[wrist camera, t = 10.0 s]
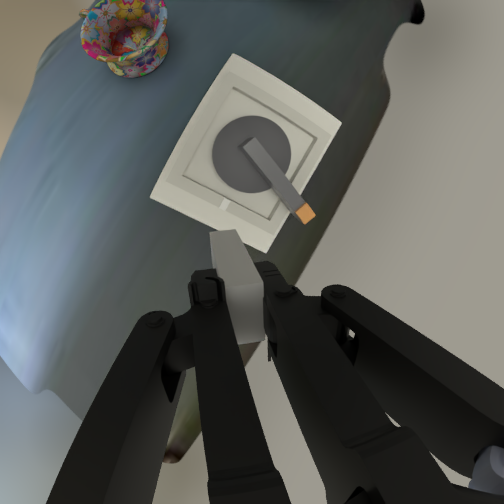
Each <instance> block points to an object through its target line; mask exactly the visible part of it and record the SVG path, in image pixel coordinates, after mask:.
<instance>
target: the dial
mask: <svg viewBox="0 0 504 504" xmlns="http://www.w3.org/2000/svg"><path fill="white" fill-rule="evenodd" d="M212 161H213V165H214V168H215V170H216V172H217V174H218V175H219V177H220V178H221V179H222V180H223V181H224V182H225V183H226V184H227V185H228V186H230V187H231V188H233V189H235V190H237V191H240V192H244V193H260V192H263V191H266V190H269V189H270V188H272V189H273V191H274V192H275V193H276V194H277V196H278V197H279V198H280V200H281V201H282V202H283V203H284V205H285V206H286V207H287V208H288V210H289V211H290V212H291V214H292V215H293V216H294V217H295V218H296V219H298V220H299V221H301V222H302V223H303V224H306V223H307V222H308V221H310V220H311V219H312V218H313V217H314V216H315V214H314V212H313V211H312V209H311V208H310V207H309V205H308V204H307V203H306V202H305V201H304V200H303V198H302V197H301V196H300V194H299V193H298V192H297V190H296V189H295V188H294V186H293V185H292V184H291V182H290V181H289V180H288V178H287V177H286V176H285V174H286V173H287V171H288V168H289V165H290V161H291V147H290V143H289V140H288V138H287V136H286V134H285V132H284V131H283V130H282V129H281V127H280V126H278V125H277V124H276V123H275V122H273V121H272V120H270V119H268V118H265V117H261V116H254V115H251V116H243V117H240V118H237V119H235V120H233V121H231V122H229V123H228V124H227V125H225V126H224V127H223V128H222V129H221V131H220V132H219V133H218V135H217V136H216V138H215V141H214V144H213V148H212Z"/></svg>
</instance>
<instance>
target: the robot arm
mask: <svg viewBox="0 0 504 504" xmlns="http://www.w3.org/2000/svg"><path fill="white" fill-rule="evenodd" d="M209 233H210V244H211V253H212V263H213V269H206V270H198V271H195V272H194V273H193V274H192V276H191V281H190V282H189V284H188V291H189V297H190V303H191V309H190V310H189V311H188V312H186V313H185V314H183V315H180V316H178V317H175V318H173V316H172V315H171V314H170V313H168V312H166V311H152V312H149V313H147V314H145V315H143V316H142V317H141V318H140V319H139V320H138V322H137V323H136V325H135V327H134V328H133V330H132V332H131V333H130V335H129V337H128V339H127V340H126V342H125V344H124V346H123V347H122V349H121V351H120V353H119V354H118V356H117V358H116V360H115V362H114V363H113V365H112V367H111V369H110V371H109V372H108V374H107V376H106V378H105V380H104V382H103V384H102V385H101V387H100V389H99V391H98V393H97V395H96V397H95V399H94V401H93V403H92V405H91V406H90V408H89V410H88V412H87V414H86V416H85V418H84V420H83V422H82V424H81V426H80V429H79V431H78V433H77V435H76V437H75V439H74V441H73V443H72V445H71V447H70V449H69V451H68V454H67V456H66V458H65V460H64V462H63V465H62V467H61V469H60V471H59V474H58V476H57V478H56V481H55V483H54V485H53V488H52V490H51V493H50V495H49V497H48V500H47V502H46V504H152V501H153V497H154V493H155V489H156V485H157V481H158V477H159V473H160V469H161V464H162V461H163V457H164V453H165V449H166V446H167V442H168V438H169V434H170V431H171V427H172V423H173V419H174V416H175V412H176V408H177V405H178V401H179V398H180V394H181V390H182V387H183V383H184V380H185V376H186V370H187V369H189V368H192V367H195V371H196V381H197V392H198V401H199V410H200V419H201V427H202V435H203V442H204V450H205V456H206V462H207V470H208V477H209V478H208V479H209V480H208V482H207V487H208V495H209V501H210V504H291V502H290V499H289V496H288V493H287V490H286V488H285V485H284V482H283V479H282V477H281V475H280V473H279V471H278V470H277V469H276V468H275V467H274V464H273V461H272V458H271V455H270V452H269V449H268V446H267V442H266V439H265V436H264V433H263V429H262V426H261V423H260V420H259V417H258V413H257V410H256V406H255V403H254V399H253V396H252V393H251V389H250V386H249V382H248V379H247V375H246V372H245V368H244V365H243V361H242V358H241V354H240V350H239V347H238V345H239V344H245V343H252V342H258V341H264V340H265V332H266V335H267V337H268V361H271V357H272V359H273V362H274V364H275V367H276V369H277V372H278V374H279V377H280V379H281V382H282V384H283V387H284V389H285V392H286V394H287V397H288V399H289V402H290V404H291V407H292V409H293V412H294V414H295V417H296V419H297V421H298V424H299V426H300V429H301V431H302V434H303V436H304V438H305V441H306V443H307V446H308V448H309V450H310V452H311V455H312V457H313V460H314V462H315V465H316V467H317V469H318V472H319V474H320V476H321V479H322V481H323V483H324V486H325V490H326V500H327V504H504V389H503V388H502V387H500V386H499V385H497V384H496V383H495V382H493V381H492V380H490V379H489V378H487V377H486V376H484V375H483V374H481V373H480V372H478V371H477V370H476V369H474V368H473V367H471V366H469V365H468V364H467V363H465V362H464V361H462V360H461V359H459V358H458V357H456V356H455V355H453V354H452V353H450V352H449V351H447V350H446V349H444V348H443V347H441V346H440V345H438V344H436V343H435V342H433V341H432V340H430V339H429V338H427V337H425V336H424V335H423V334H421V333H420V332H418V331H417V330H415V329H413V328H412V327H411V326H409V325H407V324H406V323H404V322H403V321H401V320H400V319H398V318H397V317H395V316H394V315H392V314H390V313H389V312H387V311H386V310H384V309H383V308H381V307H379V306H378V305H376V304H375V303H373V302H372V301H370V300H368V299H367V298H365V297H364V296H362V295H361V294H359V293H357V292H356V291H354V290H353V289H351V288H349V287H347V286H342V285H338V284H337V285H330V286H327V287H325V288H323V290H322V291H321V296H304V295H303V293H302V292H301V291H300V290H299V289H298V288H297V287H295V286H292V285H288V284H287V282H286V281H285V279H284V278H283V276H282V275H281V273H280V272H279V271H278V269H277V267H276V266H275V265H274V264H273V263H271V262H269V261H264V262H256V263H253V261H252V259H251V258H250V256H249V254H248V252H247V250H246V248H245V246H244V244H243V242H242V240H241V238H240V236H239V234H238V233H237V231H236V229H232V230H223V231H214V232H209ZM350 329H351V330H352V331H353V332H354V333H355V336H354V338H352V337H351V336H350V335H349V330H350ZM385 412H386V413H387V414H388V415H389V416H390V417H391V418H392V419H394V421H396V422H397V423H398V424H399V425H400V426H401V427H397V426H395V425H394V424H393V423H392V422H391V421H390V419H389V418H388V416H387V415H386V413H385ZM429 451H430V452H431V453H432V454H433V455H434V456H435V457H437V458H438V459H439V460H440V461H441V462H443V463H444V464H445V465H447V466H448V467H449V468H451V469H452V470H454V471H456V472H458V473H459V474H461V475H463V476H466V477H468V478H471V479H472V480H471V481H470V482H469V486H468V487H469V488H467V487H463V486H459V485H456V484H453V483H450V481H449V480H448V478H447V477H446V475H445V474H444V472H443V471H442V469H441V468H440V467H439V465H438V464H437V462H436V461H435V459H434V458H433V457H432V455H431V454H430V452H429Z"/></svg>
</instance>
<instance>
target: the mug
mask: <svg viewBox="0 0 504 504" xmlns="http://www.w3.org/2000/svg"><path fill="white" fill-rule="evenodd" d="M79 15H80V17H81V18H83V19H84V22H83V25H82V28H81V34H80V38H81V44H82V46H83V48H84V50H85V51H86V53H87V54H88V55H89V56H91V57H92V58H94V59H96V60H99V61H102V62H107V64H108V66H109V68H110V69H111V70H112V71H113V72H114V73H115V74H117V75H119V76H122V77H127V78H134V77H140V76H143V75H146V74H148V73H150V72H151V71H153V70H154V69H156V68H157V67H158V66H159V65H160V64H161V63H162V61H163V60H164V58H165V56H166V54H167V51H168V38H167V35H166V33H165V32H164V29H165V26H166V23H167V16H168V14H167V8H166V5H165V3H164V2H163V0H101V1H100V2H99V3H98V4H96V5H95V6H94V7H93V8H92V10H91V11H90V10H87V9H82V10H81V11H80V13H79Z"/></svg>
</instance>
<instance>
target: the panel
mask: <svg viewBox="0 0 504 504" xmlns="http://www.w3.org/2000/svg"><path fill="white" fill-rule="evenodd" d="M251 115H254V116H261V117H265V118H268V119H270V120H272V121H273V122H275V123H276V124H277V125H278V126H280V127H281V129H282V130H283V131H284V132H285V134H286V136H287V138H288V140H289V143H290V147H291V161H290V165H289V168H288V171H287V173H286V174H285V176H286V177H287V178H288V180H289V181H290V182H291V184H292V185H293V186H294V188H295V189H296V190H297V192H298V193H299V194H300V195H301V193H302V191H303V190H304V188H305V186H306V185H307V183H308V181H309V179H310V178H311V176H312V174H313V172H314V171H315V169H316V167H317V166H318V164H319V162H320V160H321V159H322V157H323V155H324V153H325V152H326V150H327V148H328V146H329V145H330V143H331V141H332V139H333V138H334V136H335V134H336V132H337V131H338V129H339V127H340V125H341V124H342V123H341V122H340V121H339V120H338V119H336V118H335V117H334V116H332V115H331V114H330V113H328V112H327V111H325V110H324V109H323V108H321V107H320V106H318V105H317V104H316V103H314V102H313V101H311V100H310V99H308V98H307V97H306V96H304V95H303V94H301V93H300V92H298V91H297V90H295V89H294V88H292V87H290V86H289V85H287V84H286V83H284V82H283V81H281V80H279V79H278V78H276V77H275V76H273V75H271V74H270V73H268V72H266V71H265V70H263V69H261V68H259V67H258V66H256V65H254V64H252V63H251V62H249V61H247V60H245V59H243V58H242V57H240V56H238V55H236V54H234V53H233V54H232V55H231V57H230V58H229V60H228V61H227V62H226V64H225V65H224V67H223V68H222V70H221V71H220V73H219V74H218V76H217V77H216V79H215V80H214V82H213V84H212V85H211V87H210V88H209V90H208V91H207V93H206V95H205V96H204V98H203V99H202V101H201V103H200V104H199V106H198V108H197V109H196V111H195V113H194V114H193V116H192V118H191V119H190V121H189V123H188V125H187V126H186V128H185V130H184V132H183V133H182V135H181V137H180V139H179V141H178V142H177V144H176V146H175V148H174V150H173V152H172V154H171V155H170V157H169V159H168V161H167V163H166V165H165V167H164V169H163V171H162V173H161V175H160V177H159V179H158V181H157V183H156V185H155V187H154V189H153V191H152V193H151V195H150V198H152V199H154V200H156V201H158V202H160V203H162V204H164V205H166V206H169V207H171V208H173V209H175V210H177V211H179V212H181V213H183V214H185V215H187V216H189V217H191V218H194V219H196V220H198V221H200V222H202V223H204V224H206V225H208V226H210V227H212V228H214V229H216V230H219V231H223V230H232V229H236V231H237V233H238V234H239V236H240V238H241V240H242V242H243V243H246V244H248V245H250V246H252V247H254V248H256V249H258V250H260V251H262V252H264V253H267V251H268V249H269V248H270V246H271V244H272V243H273V241H274V239H275V238H276V236H277V234H278V232H279V231H280V229H281V227H282V226H283V224H284V222H285V221H286V219H287V217H288V215H289V214H290V211H289V210H288V208H287V207H286V206H285V205H284V203H283V202H282V201H281V200H280V198H279V197H278V196H277V194H276V193H275V192H274V191H273V189H272V188H270V189H269V190H266V191H263V192H260V193H244V192H240V191H237V190H235V189H233V188H231V187H230V186H228V185H227V184H226V183H225V182H224V181H223V180H222V179H221V178H220V177H219V175H218V174H217V172H216V170H215V168H214V165H213V161H212V148H213V144H214V141H215V138H216V136H217V135H218V133H219V132H220V131H221V129H222V128H223V127H224V126H225V125H227V124H228V123H229V122H231V121H233V120H235V119H237V118H240V117H243V116H251Z"/></svg>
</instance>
